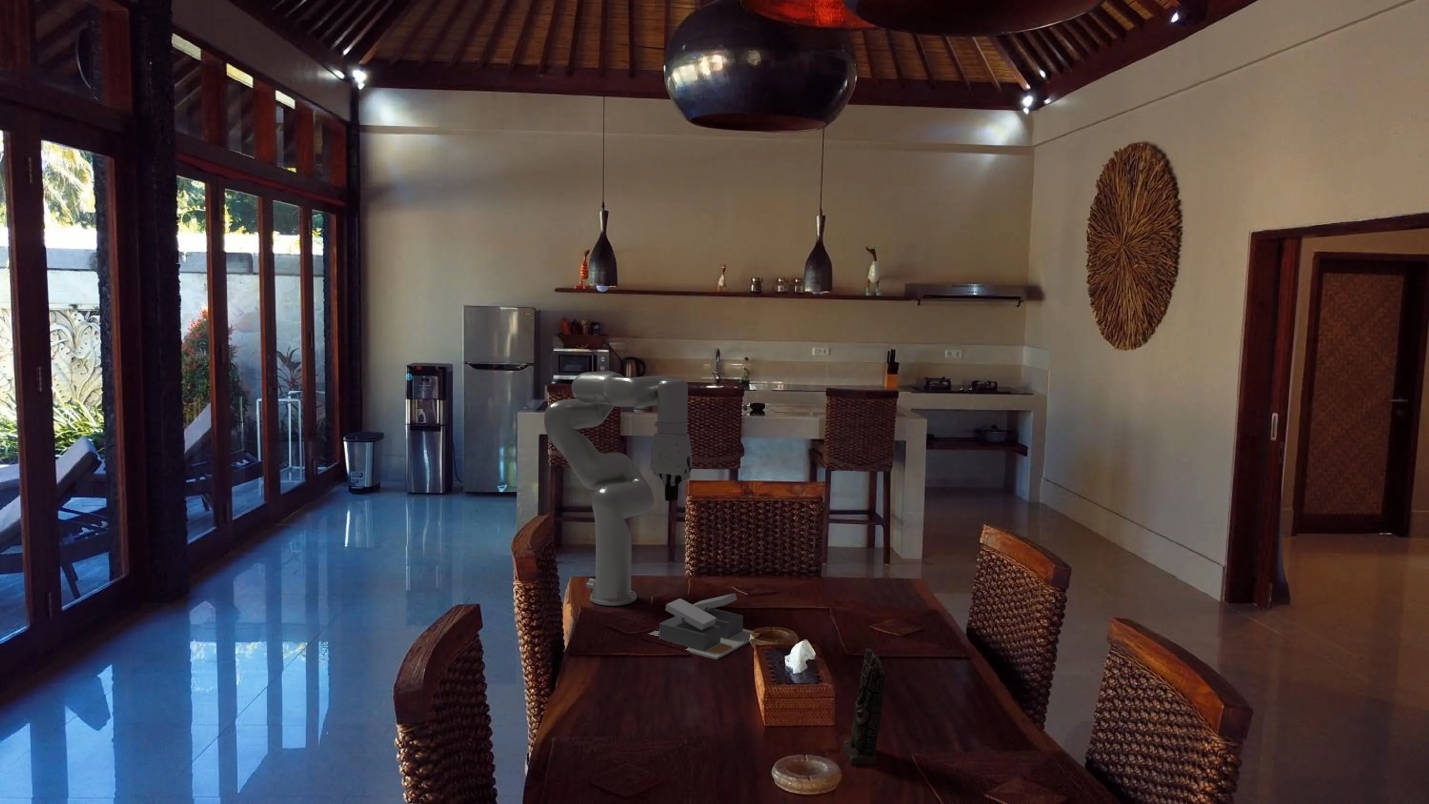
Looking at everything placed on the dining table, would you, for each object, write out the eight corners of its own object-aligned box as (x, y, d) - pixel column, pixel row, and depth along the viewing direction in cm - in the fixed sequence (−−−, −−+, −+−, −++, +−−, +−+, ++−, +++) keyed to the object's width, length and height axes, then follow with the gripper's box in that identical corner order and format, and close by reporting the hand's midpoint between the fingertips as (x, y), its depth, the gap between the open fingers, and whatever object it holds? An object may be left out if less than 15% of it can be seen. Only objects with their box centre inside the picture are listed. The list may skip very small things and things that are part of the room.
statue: (841, 747, 184) (845, 644, 182) (879, 746, 185) (883, 643, 182) (849, 765, 177) (853, 657, 175) (888, 764, 178) (892, 657, 176)
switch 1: (664, 612, 237) (666, 604, 236) (678, 606, 241) (680, 598, 241) (701, 632, 231) (703, 624, 230) (714, 625, 236) (716, 617, 235)
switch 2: (690, 615, 245) (687, 606, 245) (703, 609, 250) (700, 600, 250) (725, 607, 239) (722, 598, 239) (737, 601, 243) (735, 593, 244)
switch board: (640, 639, 239) (640, 621, 238) (688, 617, 255) (688, 600, 255) (716, 659, 226) (716, 640, 226) (761, 635, 243) (761, 617, 243)
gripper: (639, 427, 249) (638, 498, 251) (687, 432, 241) (686, 506, 243) (657, 424, 255) (656, 494, 257) (705, 429, 247) (704, 501, 249)
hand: (671, 500), depth 250 cm, fingers closed
